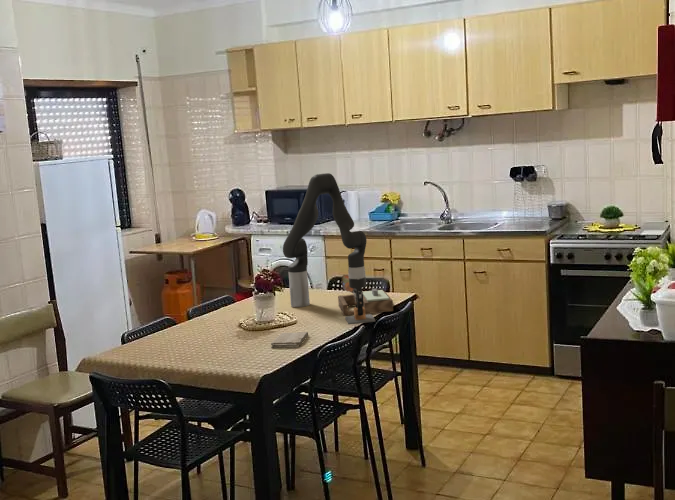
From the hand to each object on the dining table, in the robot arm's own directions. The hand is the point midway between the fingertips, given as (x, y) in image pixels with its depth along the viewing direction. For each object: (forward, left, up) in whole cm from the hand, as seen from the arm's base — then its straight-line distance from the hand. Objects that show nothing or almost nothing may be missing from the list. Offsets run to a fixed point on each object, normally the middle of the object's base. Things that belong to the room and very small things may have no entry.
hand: (359, 313), depth 342 cm
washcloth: (-33, -26, -3) cm, 42 cm away
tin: (+4, +65, -3) cm, 65 cm away
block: (0, 0, -2) cm, 2 cm away
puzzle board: (+6, +21, -3) cm, 22 cm away
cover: (+11, +21, +3) cm, 24 cm away
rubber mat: (0, 0, -3) cm, 3 cm away
